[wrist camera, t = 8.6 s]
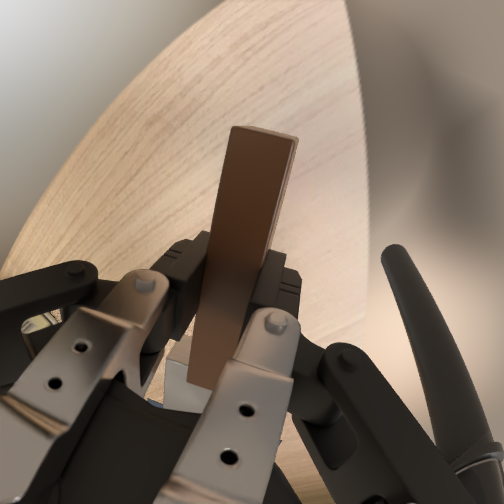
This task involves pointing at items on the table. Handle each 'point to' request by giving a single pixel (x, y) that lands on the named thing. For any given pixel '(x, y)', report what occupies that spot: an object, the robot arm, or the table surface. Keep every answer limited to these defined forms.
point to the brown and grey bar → (231, 261)
